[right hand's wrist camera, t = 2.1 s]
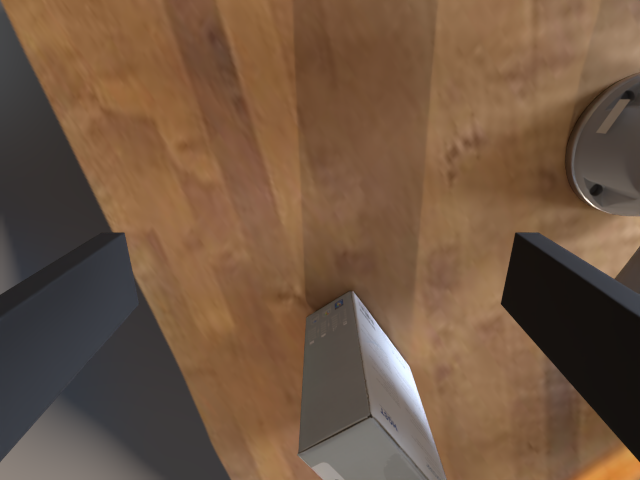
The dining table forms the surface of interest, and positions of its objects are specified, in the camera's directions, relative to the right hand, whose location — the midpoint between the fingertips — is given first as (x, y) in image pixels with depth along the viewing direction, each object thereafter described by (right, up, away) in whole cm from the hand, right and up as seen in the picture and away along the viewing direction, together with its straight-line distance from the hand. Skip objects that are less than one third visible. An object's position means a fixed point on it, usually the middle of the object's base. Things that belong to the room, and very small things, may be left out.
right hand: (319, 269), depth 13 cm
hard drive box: (+5, -13, +38) cm, 40 cm away
